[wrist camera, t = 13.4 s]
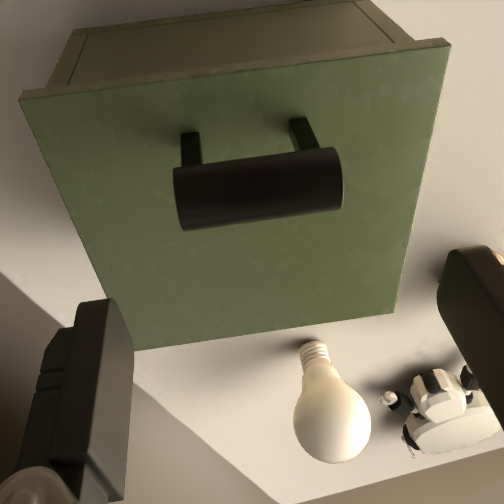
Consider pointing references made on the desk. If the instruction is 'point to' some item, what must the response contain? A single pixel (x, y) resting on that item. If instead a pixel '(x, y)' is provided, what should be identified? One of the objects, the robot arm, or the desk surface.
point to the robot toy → (443, 412)
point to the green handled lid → (246, 186)
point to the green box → (222, 39)
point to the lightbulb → (328, 410)
